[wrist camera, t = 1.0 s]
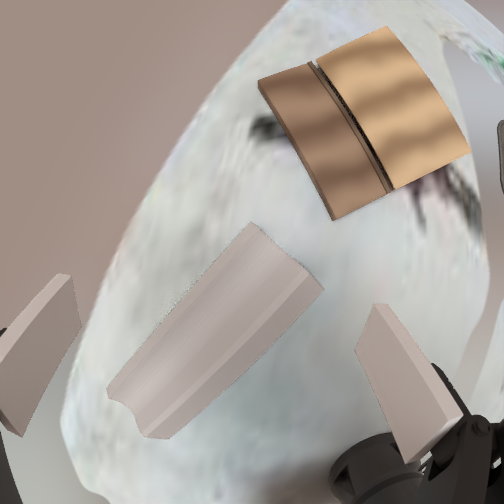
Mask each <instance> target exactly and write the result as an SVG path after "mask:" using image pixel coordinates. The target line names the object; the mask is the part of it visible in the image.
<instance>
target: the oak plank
mask: <svg viewBox="0 0 504 504" xmlns="http://www.w3.org/2000/svg"><path fill="white" fill-rule="evenodd" d="M316 62H317V64H318V66H319V67H320V68H321V70H322V71H323V72H324V74H325V75H326V76H327V78H328V79H329V81H330V82H331V83H332V85H333V86H334V88H335V89H336V91H337V92H338V93H339V95H340V96H341V98H342V99H343V101H344V102H345V104H346V105H347V107H348V109H349V110H350V112H351V113H352V115H353V116H354V118H355V120H356V121H357V123H358V124H359V126H360V128H361V129H362V131H363V133H364V134H365V136H366V138H367V139H368V141H369V143H370V145H371V146H372V148H373V150H374V152H375V154H376V155H377V157H378V159H379V161H380V163H381V165H382V167H383V168H384V170H385V172H386V174H387V176H388V178H389V180H390V182H391V184H392V186H393V188H394V190H396V189H398V188H400V187H402V186H404V185H406V184H408V183H410V182H412V181H414V180H416V179H418V178H420V177H422V176H424V175H426V174H428V173H430V172H432V171H434V170H436V169H438V168H440V167H442V166H444V165H446V164H448V163H450V162H452V161H454V160H456V159H458V158H460V157H462V156H464V155H466V154H468V153H470V152H472V151H471V149H470V147H469V145H468V143H467V141H466V139H465V137H464V136H463V134H462V132H461V130H460V128H459V126H458V124H457V123H456V121H455V119H454V117H453V116H452V114H451V112H450V111H449V109H448V107H447V106H446V104H445V102H444V101H443V99H442V98H441V96H440V94H439V93H438V91H437V90H436V88H435V87H434V85H433V84H432V82H431V81H430V79H429V78H428V77H427V75H426V74H425V72H424V71H423V70H422V68H421V67H420V66H419V64H418V63H417V62H416V60H415V59H414V58H413V56H412V55H411V54H410V53H409V51H408V50H407V49H406V48H405V46H404V45H403V44H402V43H401V42H400V40H399V39H398V38H397V37H396V36H395V35H394V33H393V32H392V31H391V30H390V29H389V28H388V27H387V26H385V27H383V28H381V29H378V30H376V31H374V32H371V33H369V34H367V35H364V36H362V37H360V38H358V39H356V40H354V41H352V42H349V43H347V44H345V45H343V46H341V47H339V48H337V49H335V50H333V51H331V52H329V53H327V54H326V55H324V56H322V57H320V58H318V59H316Z"/></svg>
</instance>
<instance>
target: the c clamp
mask: <svg viewBox="0 0 504 504" xmlns="http://www.w3.org/2000/svg"><path fill="white" fill-rule="evenodd" d="M497 135H498V146H499V160H500V182H501V187H502V191H503V193H504V120H502V121H500V122H499V124H498V127H497Z"/></svg>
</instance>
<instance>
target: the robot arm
mask: <svg viewBox="0 0 504 504" xmlns="http://www.w3.org/2000/svg"><path fill="white" fill-rule="evenodd" d="M81 328H82V324H81V320H80V316H79V311H78V307H77V302H76V297H75V292H74V286H73V280H72V276H71V275H64V274H59V273H58V274H57V275H56V276H55V277H54V278H53V279H52V280H51V281H50V282H49V283H48V284H47V285H46V286H45V287H44V288H43V289H42V291H40V293H39V294H38V295H37V296H36V297H35V298H34V299H33V300H32V301H31V302H30V303H29V304H28V306H27V307H26V308H25V309H24V310H23V311H22V312H21V314H19V316H18V317H17V318H16V319H15V320H14V321H13V323H12V324H11V325H10V326H9V327H8V328H3V329H2V330H0V421H1V423H2V424H3V425H4V426H5V428H6V429H7V430H9V431H11V432H13V433H14V434H16V435H18V436H20V437H23V435H24V433H25V431H26V428H27V426H28V424H29V422H30V420H31V418H32V416H33V413H34V412H35V410H36V407H37V405H38V403H39V401H40V399H41V397H42V396H43V394H44V392H45V390H46V388H47V386H48V384H49V382H50V380H51V379H52V377H53V375H54V373H55V371H56V370H57V368H58V366H59V364H60V363H61V361H62V359H63V357H64V356H65V354H66V352H67V350H68V349H69V347H70V345H71V344H72V342H73V340H74V339H75V337H76V336H77V334H78V332H79V331H80V329H81ZM355 352H356V354H357V356H358V359H359V361H360V363H361V365H362V367H363V369H364V371H365V373H366V375H367V378H368V380H369V382H370V384H371V386H372V388H373V391H374V393H375V395H376V397H377V399H378V402H379V404H380V406H381V408H382V410H383V413H384V415H385V417H386V420H387V422H388V424H389V426H390V429H391V431H392V433H386V434H381V435H377V436H374V437H371V438H369V439H366V440H364V441H362V442H360V443H358V444H357V445H355V446H353V447H352V448H350V449H349V450H348V451H346V452H345V453H344V454H343V455H342V456H341V457H340V458H339V459H338V460H337V461H336V463H335V464H334V465H333V467H332V469H331V471H330V475H329V482H330V486H331V489H332V492H333V494H334V495H335V496H336V497H337V498H338V499H339V500H340V502H341V503H342V504H504V419H503V420H502V421H501V422H500V423H489V421H488V420H487V419H486V418H485V417H483V416H481V415H471V413H470V412H469V410H468V409H467V407H466V406H465V404H464V403H463V401H462V399H461V398H460V397H459V395H458V393H457V392H456V390H455V389H453V386H452V384H451V383H450V382H449V381H448V378H447V377H446V375H445V374H444V372H443V371H442V370H441V369H440V368H439V367H437V366H436V365H435V364H434V363H430V362H429V361H428V359H427V358H426V356H425V355H424V353H423V352H422V350H421V349H420V348H419V346H418V345H417V343H416V342H415V341H414V339H413V338H412V336H411V335H410V334H409V332H408V331H407V330H406V328H405V327H404V325H403V324H402V323H401V321H400V320H399V319H398V317H397V316H396V315H395V313H394V312H393V311H392V309H391V308H390V307H389V306H388V304H373V306H372V309H371V312H370V314H369V317H368V319H367V322H366V324H365V327H364V329H363V332H362V334H361V336H360V339H359V341H358V343H357V346H356V348H355ZM429 451H430V452H431V454H432V456H431V457H430V458H429V459H428V460H427V461H426V462H425V463H423V464H422V465H421V462H420V459H421V458H422V457H423V456H425V455H426V454H427V453H428V452H429ZM500 457H501V464H500V465H499V466H497V467H496V468H494V466H493V463H494V462H496V461H497V460H498V459H499V458H500ZM424 467H426V469H425V471H423V473H424V475H423V474H422V469H423V468H424ZM0 504H23V503H22V500H21V498H20V495H19V493H18V490H17V487H16V485H15V481H14V478H13V476H12V473H11V469H10V466H9V463H8V459H7V456H6V452H5V448H4V444H3V440H2V436H1V432H0Z"/></svg>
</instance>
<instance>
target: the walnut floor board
mask: <svg viewBox="0 0 504 504" xmlns="http://www.w3.org/2000/svg"><path fill="white" fill-rule="evenodd" d="M258 89H259V90H260V92H261V94H262V95H263V97H264V98H265V100H266V101H267V103H268V105H269V106H270V108H271V109H272V111H273V113H274V114H275V116H276V118H277V119H278V121H279V123H280V124H281V126H282V128H283V129H284V131H285V133H286V135H287V136H288V138H289V140H290V141H291V143H292V145H293V147H294V148H295V150H296V152H297V154H298V156H299V157H300V159H301V161H302V163H303V165H304V166H305V168H306V170H307V172H308V174H309V176H310V178H311V179H312V181H313V183H314V185H315V187H316V189H317V191H318V193H319V195H320V197H321V199H322V201H323V202H324V204H325V206H326V208H327V210H328V212H329V214H330V216H331V219H332V221H334V220H336V219H338V218H340V217H342V216H344V215H346V214H348V213H350V212H352V211H354V210H356V209H358V208H360V207H362V206H364V205H366V204H368V203H370V202H372V201H374V200H376V199H378V198H380V197H382V196H384V195H386V194H388V193H390V192H391V190H390V187H389V185H388V183H387V181H386V179H385V178H384V176H383V174H382V172H381V170H380V168H379V166H378V164H377V162H376V160H375V159H374V157H373V155H372V153H371V151H370V150H369V148H368V146H367V144H366V142H365V141H364V139H363V137H362V136H361V134H360V132H359V131H358V129H357V127H356V126H355V124H354V122H353V121H352V119H351V118H350V116H349V114H348V113H347V111H346V110H345V108H344V107H343V105H342V104H341V102H340V101H339V99H338V98H337V96H336V95H335V93H334V92H333V90H332V89H331V87H330V86H329V85H328V83H327V82H326V80H325V79H324V78H323V76H322V75H321V73H320V72H319V71H318V69H317V68H316V67H315V65H314V64H313V63H312V61H310V62H307V64H304V65H301V66H298V67H294V68H291V69H288V70H285V71H282V72H279V73H277V74H274V75H271V76H268V77H265V78H263V79H260V80H258Z"/></svg>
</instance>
